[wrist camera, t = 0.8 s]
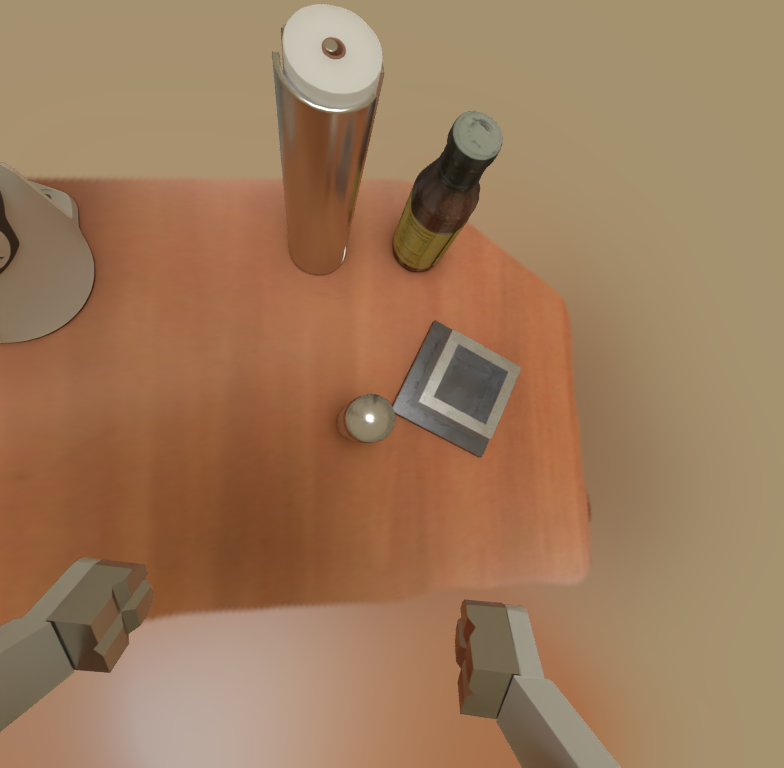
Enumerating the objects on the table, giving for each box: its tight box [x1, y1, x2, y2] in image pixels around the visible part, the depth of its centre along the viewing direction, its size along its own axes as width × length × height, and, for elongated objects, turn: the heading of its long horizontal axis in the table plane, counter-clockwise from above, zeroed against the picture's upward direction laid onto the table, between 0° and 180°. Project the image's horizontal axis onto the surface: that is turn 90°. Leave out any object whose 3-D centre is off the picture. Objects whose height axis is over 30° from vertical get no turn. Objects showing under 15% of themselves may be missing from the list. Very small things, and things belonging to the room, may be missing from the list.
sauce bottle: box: [393, 111, 503, 272], centre depth 39 cm, size 7×6×20 cm
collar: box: [392, 321, 522, 457], centre depth 45 cm, size 12×12×5 cm
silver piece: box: [272, 4, 384, 275], centre depth 34 cm, size 6×6×25 cm
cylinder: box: [337, 394, 395, 443], centre depth 39 cm, size 4×4×12 cm
